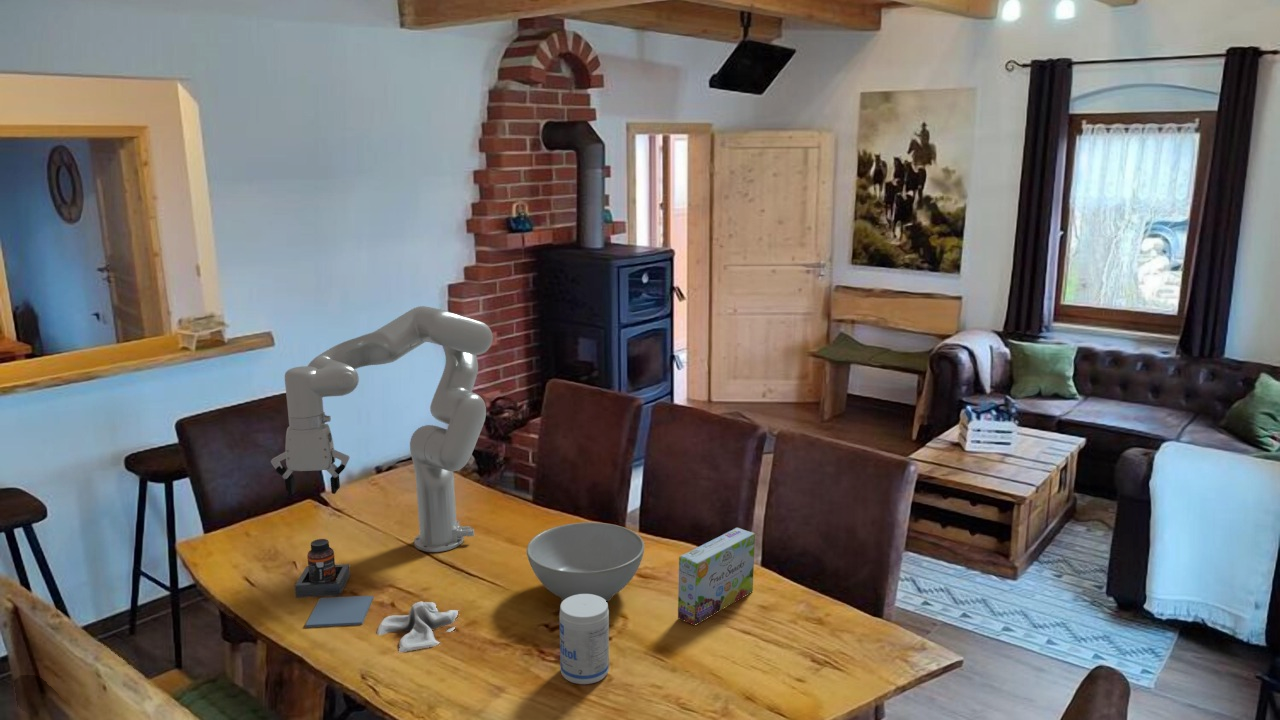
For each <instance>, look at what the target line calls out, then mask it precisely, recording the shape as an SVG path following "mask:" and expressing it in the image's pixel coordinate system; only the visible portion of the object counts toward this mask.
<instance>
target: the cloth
mask: <svg viewBox="0 0 1280 720" xmlns="http://www.w3.org/2000/svg"><path fill="white" fill-rule="evenodd" d="M436 606H437V604H436V603H435V602H433V601H431V602H430V601H429V602H428V601H425V602H424V601H423V600H421V601H418V602H414V603H413V604H412V606H411V607H410V610H409V613H408V614H407V615H404V614H403V615H388V616H385V618H383V619H382V621H381V622H380V624H379V626H378V627H377V631H376V634H377V635H378V636H383V635H386V634H389V632H390V633H398V632H397V631H404V632H408V633H406V634H404V635H403V636H402V637H401V638H400V640H399V642H398V646H399V647H400V648H398V650H399V651H398V650H397V653H398V652H405V653H408V652H407V651H410V652H413V651H412V650H416V651H418V650H417V649H422V648H427V649H430V648H429V647H433V646H436V645H438V644H439V643H441V642H440V641H438V640H436V638H435V635H434V634H435V633H434V632H433V631H434V630H433V631H432V629H435V628H438V627H441V626H445V625H449V624H451V623H453V622H454V621H455V618H456V617H457V615H458V611H459V610H457V609H449V610H446V611H439V610H438V608H436ZM455 622H456V621H455ZM453 624H454V623H453ZM455 627H456V626H453V627H450V628H448V630H447V629H446V630H447V631H446V632H451V631H453V630H454V629H455ZM410 630H411V631H410ZM453 632H454V631H453ZM422 650H423V649H422Z"/></svg>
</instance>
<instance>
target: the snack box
mask: <svg viewBox="0 0 1280 720" xmlns="http://www.w3.org/2000/svg"><path fill="white" fill-rule="evenodd" d="M755 536H756V533H755V532H752V531H749V530H745V529H743V528H740V527H735V528H733V529H732V530H729V531H727V532H725V533H723V534H722V535H720V536H718V537H715V538H713V539H712V540H710V541H708V542H705V543H703V544H702V545H699V546H698V547H696V548H693V549H692V550H689V551H688V552H685V553H684V554H681V555H680V556H678V591H677V593H678V594H677V595H678V596H677V597H678V598H677V599H678V600H677V602H678V603H677V619H679V618H680V619H679V620H681V619H682V620H681V621H683V620H685V621H687V622H689V623H692V624H694V625H695V624H697V623H699V622H701V621H702V620H704V619H706V618H707V617H709V616H711V615H713V614H714V613H716V612H717V611H719V610H721V609H723V608H724V607H726V606H728V605H729V604H731V605H733V604H734V603H733V602H735V601H737V600H738V599H740V598H742V597H743V596H745V595H747V594H748V595H750V594H751V593H750V592H752V591H754V565H755V543H756V541H755V540H756V537H755ZM749 593H750V594H749ZM752 593H753V592H752ZM748 595H747V596H748ZM745 597H746V596H745ZM743 598H744V597H743ZM743 598H742V599H743ZM740 600H741V599H740ZM738 601H739V600H738ZM738 601H737V602H738ZM732 603H733V604H732ZM735 603H736V602H735ZM728 607H729V606H728ZM726 608H727V607H726ZM723 610H724V609H723ZM721 611H722V610H721ZM719 612H720V611H719ZM716 614H717V613H716ZM714 615H715V614H714ZM714 615H713V616H714ZM711 617H712V616H711ZM709 618H710V617H709ZM706 620H707V619H706ZM685 621H684V622H685ZM704 621H705V620H704ZM687 622H686V623H687ZM689 623H688V624H689ZM701 623H702V622H701ZM699 624H700V623H699Z"/></svg>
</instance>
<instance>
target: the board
mask: <svg viewBox="0 0 1280 720" xmlns="http://www.w3.org/2000/svg"><path fill="white" fill-rule="evenodd" d="M373 600H374V595H360V596H359V595H357V596H356V595H354V596H338V597H335V596H332V597H320V598H319V600H318V601H317V603H316V605H315V606H314V609H313V610H312V612H311V614H310V615H309V617H308V619H307V620H306V621H307V622H306V623H305V624H304V626H305V628H319V627H320V628H321V627H323V628H324V627H341V626H343V627H344V626H345V627H346V626H361V625H363V623H364V621H365V619H366V617H367V615H368V612H369V610H370V607H371V606H372V603H373Z"/></svg>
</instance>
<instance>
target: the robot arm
mask: <svg viewBox="0 0 1280 720" xmlns="http://www.w3.org/2000/svg"><path fill="white" fill-rule="evenodd" d="M493 336H494V335H493V332H492V330H491V328H490V326H489V325H488V324H486V323H484V322H483V321H480V320H476V319H473V318H470V317H466V316H463V315H460V314H457V313H453V312H450V311H447V310H445V309H441V308H436V307H430V306H424V305H423V306H421V305H420V306H416V307H413V308H411V309H410V310H408V311H406V312H405V313H403V314H402V315H399V316H398V317H397V318H395V319H393V320H392V321H389V323H386V324H385V325H383V326H381V327H380V328H378V329H377V330H375V331H372V332H369V333H366V334H363V335H360V336H358V337H355V338H351V339H348V340H346V341H343V342H341V343H338V344H336V345H334V346H332V347H330V348H329V349H327V350H325V351H323V352H322V353H320V354H318V355H317V356H316V357H315V358H313V359H312V360H311V361H310V362H309V363H308V364H307V366H304V365H303V366H295V367H292V368H289V369H288V370H287V371H285V373H284V385H285V394H286V395H285V396H286V406H287V414H288V424H289V426H288V427H287V428H286V431H285V432H286V434H285V445H284V446H285V447H284V448H285V451H284V452H282V453H280V454H278V455H277V456H275V457H273V458H272V459H271V460H270V463H271V464H272V466H273V468H275V471H276V472H277V474H279V475H281V476H282V479H284V482H285V483H284V485H285V491H287V494H288V496H293V495H294V494H295V492H296V482H295V475H294V474H293V472H303V471H304V472H309V471H311V472H312V471H326V472H327V473H329V474H330V475H331V477H330V478H329V479H330V491H331V494H332V495H335V494H336V493H337V492H338V490H339V489H340V487H341V482H340V474H341V473H342V472H343V471H344V470H345V468H346V467H347V465H348V463H349V461H350V455H348V454H346V453H343V452H340V451H338V450H335V445H334V440H333V435H332V432H331V428H330V425H329V424H328V422H331V419H332V418H331V415H327V414H326V413H325V411H324V401H323V398H328V397H343V396H346V395H349V394H351V393H353V392H354V391H355V389H356V388H357V387H358V385H359V381H360V376H359V374H358V371H357V370H356V369H360V368H364V367H368V366H379V365H385V364H391V363H394V362H396V361H398V360H399V359H400V358H402V357H403V356H405V355H406V354H408V353H410V352H412V351H413V350H414V349H416V348H418V347H419V346H422V344H424V343H431V344H434V345H435V344H436V345H439V346H442V349H443V352H444V356H445V365H444V369H443V372H442V375H441V377H440V380H439V383H438V385H437V386H436V390H435V392H434V394H433V398H432V400H431V403H430V407H429V409H430V414H431V416H432V417H433V418H434V419H435V420H437V421H438V422H441V423H444V424H446V425H448V426H447V429H446V428H444V427H440V426H438V425H433V424H431V425H430V424H425V425H422V426H420V427H418V428H417V429H416V430H415V431H414V432H413V433H412V435H411V438H410V441H409V451H410V456H411V459H412V463H413V468H414V473H415V475H414V476H415V482H416V484H415V486H416V496H417V497H416V499H417V510H418V511H417V513H418V527H419V534H417V536H416V537H415V538H414V541H413V544H414V547H415V548H416V549H417V550H420V551H422V552H427V553H439V552H440V553H441V552H445V551H449V550H450V551H451V550H452V549H455V548H457V547H459V546H460V545H462V544H463V542H464V537H475V529H474V528H471V525H470V526H469V525H467V526H462V525H460V521H459V520H457V511H456V510H457V509H456V496H455V495H456V494H455V492H456V491H455V477H454V472H456V471H459V470H461V469H463V468H464V467H465V466H466V465H467V463H468V462H469V460H470V459H471V457H472V454H473V452H474V449H475V447H476V444H477V442H478V439H479V437H480V434H481V432H482V430H483V427H484V424H485V422H486V416H487V408H486V403H485V401H484V399H483V398H482V397H481V396H480V395H479V394H477V393H475V392H473V390H474V386H475V383H476V381H477V378H478V377H477V376H478V372H479V364H478V363H479V362H478V356H479V355H482V354H485V353H486V352H487V351H488V350H489V349H490V348H491V346H492V343H493V339H494V338H493ZM336 459H338V460H339V461H341V462H340V464H339V466H337V465H336ZM284 460H285V465H286V467H284V465H283V464H282V463H281V462H282V461H284Z"/></svg>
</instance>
